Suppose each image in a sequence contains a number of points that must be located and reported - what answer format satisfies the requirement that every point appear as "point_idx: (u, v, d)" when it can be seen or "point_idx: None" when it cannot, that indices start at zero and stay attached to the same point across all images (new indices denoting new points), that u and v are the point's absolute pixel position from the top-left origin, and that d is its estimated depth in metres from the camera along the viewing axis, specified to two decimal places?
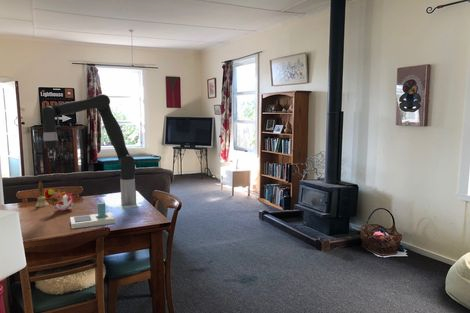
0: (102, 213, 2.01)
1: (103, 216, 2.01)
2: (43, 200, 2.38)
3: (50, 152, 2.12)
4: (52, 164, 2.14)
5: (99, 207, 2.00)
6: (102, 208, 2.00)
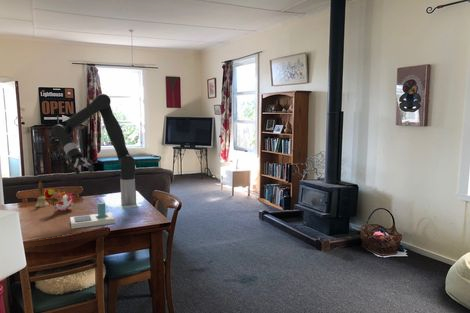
0: (102, 213, 2.01)
1: (103, 216, 2.01)
2: (43, 200, 2.38)
3: (67, 162, 2.08)
4: None
5: (99, 207, 2.00)
6: (102, 208, 2.00)
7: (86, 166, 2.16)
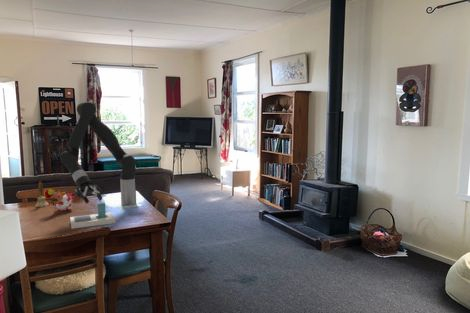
0: (102, 213, 2.01)
1: (103, 216, 2.01)
2: (43, 200, 2.38)
3: (76, 191, 2.02)
4: None
5: (99, 207, 2.00)
6: (102, 208, 2.00)
7: (95, 194, 2.09)
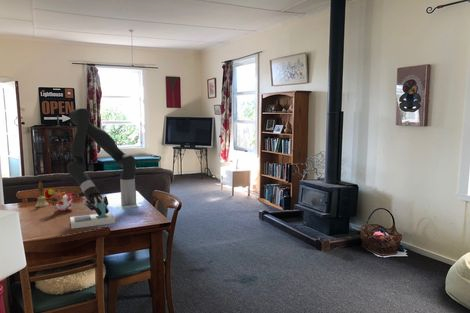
0: (102, 213, 2.00)
1: (103, 216, 2.01)
2: (43, 200, 2.38)
3: (86, 204, 1.99)
4: None
5: (99, 207, 2.00)
6: (102, 208, 2.00)
7: None
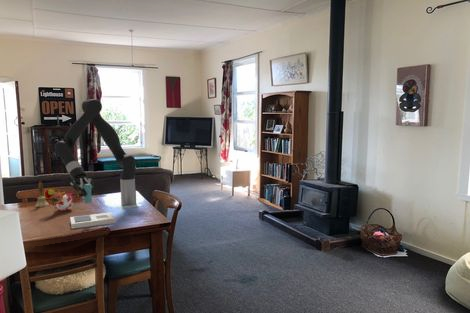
0: (88, 194, 1.96)
1: (89, 197, 1.96)
2: (43, 200, 2.38)
3: (71, 184, 1.94)
4: None
5: (85, 188, 1.95)
6: (88, 189, 1.96)
7: None
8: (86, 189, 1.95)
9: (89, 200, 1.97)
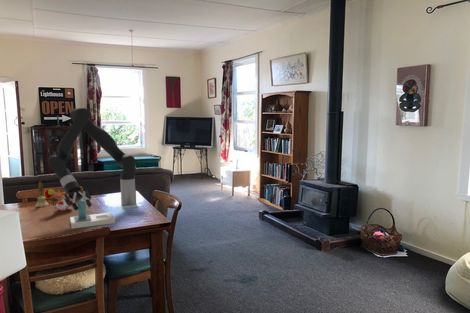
0: (82, 210, 1.96)
1: (83, 213, 1.96)
2: (43, 200, 2.38)
3: (64, 198, 1.94)
4: None
5: (79, 204, 1.95)
6: (82, 205, 1.95)
7: None
8: (80, 205, 1.95)
9: (84, 216, 1.96)
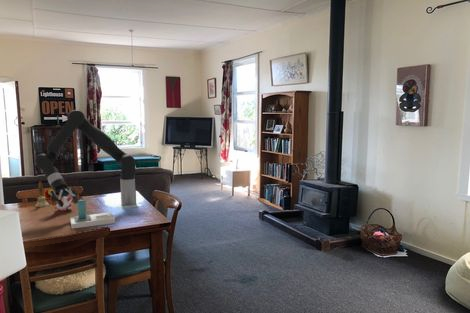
0: (82, 210, 1.96)
1: (83, 213, 1.96)
2: (43, 200, 2.38)
3: (50, 194, 2.01)
4: (59, 203, 2.00)
5: (79, 204, 1.95)
6: (82, 205, 1.95)
7: (71, 197, 2.08)
8: (81, 205, 1.95)
9: (84, 216, 1.96)
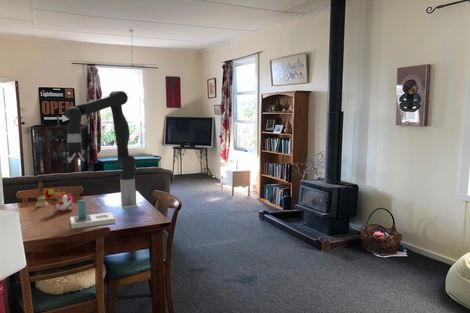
0: (82, 210, 1.96)
1: (83, 213, 1.96)
2: (43, 200, 2.38)
3: (63, 154, 2.08)
4: (67, 166, 2.10)
5: (79, 204, 1.95)
6: (82, 205, 1.95)
7: None
8: (81, 205, 1.95)
9: (84, 216, 1.96)
